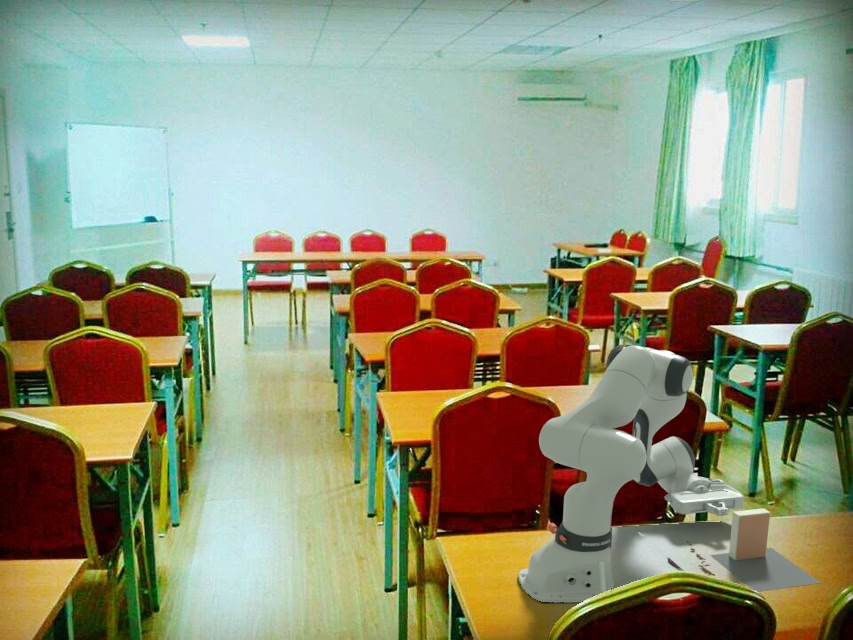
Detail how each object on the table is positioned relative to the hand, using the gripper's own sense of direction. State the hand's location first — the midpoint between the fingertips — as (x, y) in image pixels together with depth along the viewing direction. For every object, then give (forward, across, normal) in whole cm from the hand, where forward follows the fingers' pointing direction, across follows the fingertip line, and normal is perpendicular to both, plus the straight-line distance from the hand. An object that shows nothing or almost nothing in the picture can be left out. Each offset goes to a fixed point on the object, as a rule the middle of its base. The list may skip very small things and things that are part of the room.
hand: (723, 513), depth 208 cm
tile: (+11, 0, +7) cm, 13 cm away
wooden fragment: (+7, -15, +8) cm, 18 cm away
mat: (+17, 0, +7) cm, 19 cm away
